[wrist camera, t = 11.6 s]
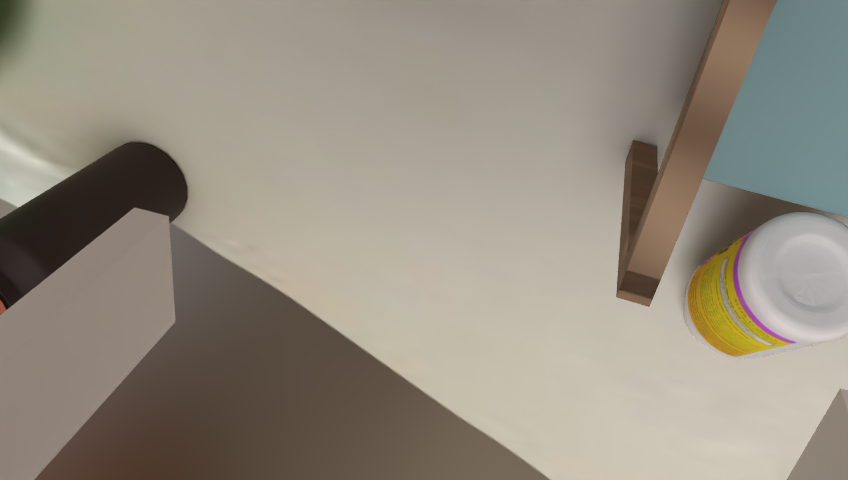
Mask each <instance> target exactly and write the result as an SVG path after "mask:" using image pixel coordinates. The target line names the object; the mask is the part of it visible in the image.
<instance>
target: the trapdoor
mask: <svg viewBox="0 0 848 480" xmlns="http://www.w3.org/2000/svg"><path fill="white" fill-rule="evenodd" d="M703 179H705V180H709V181H713V182H717V183H721V184H724V185H728V186H732V187H736V188H739V189H743V190H747V191H751V192H754V193H758V194H762V195H766V196H769V197H773V198H777V199H781V200H784V201H788V202H792V203H796V204H799V205H803V206H807V207H811V208H815V209H818V210H822V211H826V212H830V213H833V214H837V215H841V216H845V217H848V0H777V1H776V3H775V6H774V8H773V10H772V13H771V15H770V18H769V20H768V22H767V25H766V27H765V30H764V32H763V34H762V37H761V39H760V42H759V44H758V46H757V49H756V51H755V54H754V56H753V58H752V61H751V63H750V66H749V68H748V70H747V73H746V75H745V78H744V80H743V83H742V85H741V87H740V90H739V92H738V95H737V97H736V99H735V102H734V104H733V107H732V109H731V111H730V114H729V116H728V119H727V121H726V123H725V126H724V128H723V131H722V133H721V135H720V138H719V140H718V143H717V145H716V147H715V150H714V152H713V155H712V157H711V160H710V162H709V164H708V167H707V169H706V172H705V174H704V176H703Z"/></svg>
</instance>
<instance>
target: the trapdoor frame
mask: <svg viewBox="0 0 848 480" xmlns="http://www.w3.org/2000/svg"><path fill="white" fill-rule="evenodd" d="M776 1H777V0H723V3H722V5H721V8H720V11H719V13H718V16H717V19H716V21H715V24H714V27H713V29H712V32H711V35H710V37H709V40H708V42H707V45H706V48H705V50H704V53H703V56H702V58H701V61H700V64H699V66H698V69H697V71H696V74H695V77H694V79H693V82H692V85H691V87H690V90H689V93H688V95H687V98H686V101H685V103H684V106H683V108H682V111H681V114H680V116H679V119H678V122H677V124H676V127H675V130H674V132H673V135H672V138H671V140H670V143H669V145H668V148H667V151H666V153H665V156H664V159H663V161H662V164H661V167H660V169H659V172H658V163H657V147H656V146H653V145H649V144H645V143H641V142H637V141H634V140H633V142H632V145H631V148H630V151H629V154H628V157H627V159H626V164H625V178H624V193H623V208H622V222H621V237H620V251H619V266H618V281H617V295H616V297H618V298H621V299H624V300H628V301H631V302H635V303H638V304H642V305H645V306H648V307H649V306H650V304H651V301H652V299H653V297H654V294H655V292H656V289H657V287H658V285H659V282H660V280H661V277H662V275H663V273H664V270H665V268H666V265H667V263H668V261H669V258H670V256H671V253H672V251H673V249H674V246H675V244H676V241H677V239H678V237H679V234H680V232H681V229H682V227H683V224H684V222H685V220H686V217H687V215H688V212H689V210H690V208H691V205H692V203H693V200H694V198H695V196H696V193H697V191H698V188H699V186H700V184H701V181H702V179H703V176H704V174H705V172H706V169H707V167H708V164H709V162H710V160H711V157H712V155H713V152H714V150H715V147H716V145H717V143H718V140H719V138H720V135H721V133H722V131H723V128H724V126H725V123H726V121H727V119H728V116H729V114H730V111H731V109H732V107H733V104H734V102H735V99H736V97H737V95H738V92H739V90H740V87H741V85H742V83H743V80H744V78H745V75H746V73H747V70H748V68H749V66H750V63H751V61H752V58H753V56H754V54H755V51H756V49H757V46H758V44H759V42H760V39H761V37H762V34H763V32H764V30H765V27H766V25H767V22H768V20H769V18H770V15H771V13H772V10H773V8H774V6H775V3H776Z"/></svg>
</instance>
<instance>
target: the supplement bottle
mask: <svg viewBox="0 0 848 480" xmlns="http://www.w3.org/2000/svg"><path fill="white" fill-rule="evenodd" d="M683 317H684V321H685V324H686V326H687V328H688V330H689V331H690V333H691V334H692V335H693V336H694V337H695V338H696V339H697V340H698V341H699V342H701V343H703V344H704V345H707V346H708V347H710V348H711V349H713V350H714V351H716V352H718V353H720V354H722V355H725V356H728V357H732V358H737V359H754V358H759V357H764V356H768V355H772V354H776V353H781V352H785V351H790V350H794V349H799V348H803V347H807V346H812V345H816V344H821V343H825V342H829V341H833V340H837V339H839V338H842V337H844V336H846V335H848V227H847V226H845V225H844V224H842V223H841V222H839V221H837V220H835V219H833V218H831V217H828V216H825V215H822V214H817V213H812V212H792V213H787V214H783V215H780V216H777V217H775V218H773V219H771V220H769V221H767V222H765V223H764V224H762V225H760V226H759V227H757V228H756V229H754V230H752V231H751V232H749V233H748V234H746V235H745V236H743V237H741V238H740V239H738V240H737V241H735V242H734V243H732V244H730V245H729V246H728V247H726V248H724V249H723V250H721V251H720V252H718V253H717V254H715V255H713V256H712V257H710V258H709V259H707V260H706V261H704V262H703V263H702V264H701V265H700V266H699V267H698V268H697V269H696V270H695V272H694V273H693V274H692V276H691V278H690V280H689V282H688V285H687V288H686V293H685V300H684V304H683Z"/></svg>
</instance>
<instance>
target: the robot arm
mask: <svg viewBox="0 0 848 480" xmlns="http://www.w3.org/2000/svg"><path fill="white" fill-rule="evenodd" d="M174 322H175V310H174V294H173V277H172V262H171V245H170V228H169V216H166V215H162V214H158V213H154V212H150V211H147V210H143V209H139V208H133V209H132V210H131V211H130V212H128V213H127V214H126V215H125V216H123V217H122V218H121V219H120V220H118V221H117V222H116V223H115V224H113V225H112V226H111V227H110V228H108V229H107V230H106V231H105V232H103V233H102V234H101V235H100V236H98V237H97V238H96V239H95V240H93V241H92V242H91V243H90V244H88V245H87V246H86V247H85V248H83V249H82V250H81V251H80V252H78V253H77V254H76V255H75V256H73V257H72V258H71V259H70V260H68V261H67V262H66V263H65V264H64V265H62V266H61V267H60V268H59V269H57V270H56V271H55V272H54V273H52V274H51V275H50V276H49V277H47V278H46V279H45V280H44V281H42V282H41V283H40V284H39V285H37V286H36V287H35V288H34V289H32V290H31V291H30V292H29V293H27V294H26V295H25V296H24V297H22V298H21V299H20V300H19V301H17V302H16V303H15V304H14V305H12V306H11V307H10V308H9V309H7V310H6V311H5V312H4V313H2V314H1V315H0V480H34V479H35V478H36V477H37V476H38V474H40V472H41V471H42V470H43V469H44V468H45V467H46V466H47V465H48V463H49V462H50V461H51V460H52V459H53V458H54V457H55V456H56V454H57V453H58V452H59V451H60V450H61V449H62V448H63V447H64V445H65V444H66V443H67V442H68V441H69V440H70V439H71V438H72V437H73V435H74V434H75V433H76V432H77V431H78V430H79V429H80V428H81V427H82V425H83V424H84V423H85V422H86V421H87V420H88V419H89V418H90V416H91V415H92V414H93V413H94V412H95V411H96V410H97V409H98V408H99V406H100V405H101V404H102V403H103V402H104V401H105V400H106V399H107V398H108V396H109V395H110V394H111V393H112V392H113V391H114V390H115V388H116V387H117V386H118V385H119V384H120V383H121V382H122V381H123V380H124V378H125V377H126V376H127V375H128V374H129V373H130V372H131V371H132V370H133V368H134V367H135V366H136V365H137V364H138V363H139V362H140V361H141V360H142V358H143V357H144V356H145V355H146V354H147V353H148V352H149V351H150V349H151V348H152V347H153V346H154V345H155V344H156V343H157V342H158V340H159V339H160V338H161V337H162V336H163V335H164V334H165V333H166V332H167V330H168V329H169V328H170V327H171V326H172V325H173V324H174ZM787 480H848V391H847V390H843V389H840V390H839V392H838V393H837V395H836V397H835V398H834V400H833V402H832V404H831V405H830V407H829V409H828V410H827V412H826V414H825V415H824V417H823V419H822V421H821V422H820V424H819V426H818V427H817V429H816V431H815V433H814V434H813V436H812V438H811V439H810V441H809V443H808V444H807V446H806V448H805V450H804V451H803V453H802V455H801V456H800V458H799V460H798V461H797V463H796V465H795V467H794V468H793V470H792V472H791V473H790V475H789V477H788V479H787Z"/></svg>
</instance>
